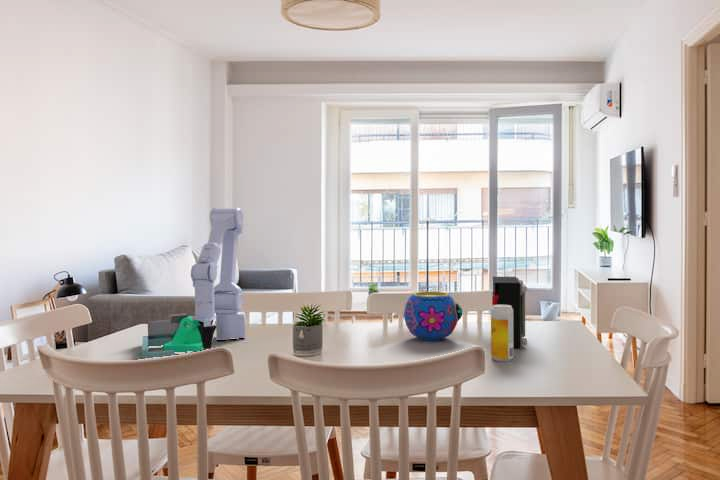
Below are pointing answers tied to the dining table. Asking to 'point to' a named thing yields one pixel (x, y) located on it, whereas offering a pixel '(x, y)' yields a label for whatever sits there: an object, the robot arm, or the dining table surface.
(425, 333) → the ceramic pot
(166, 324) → the motor housing
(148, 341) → the pump bracket
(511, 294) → the electrical component
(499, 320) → the beer can
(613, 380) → the dining table surface
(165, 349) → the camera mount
